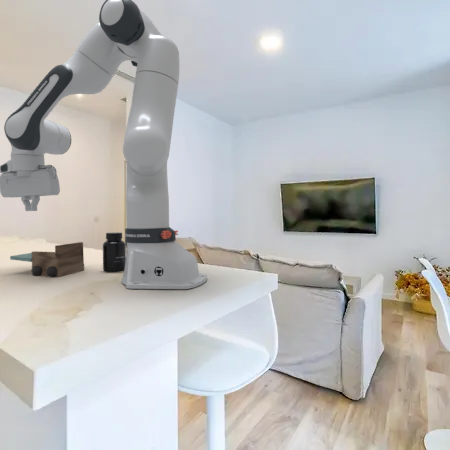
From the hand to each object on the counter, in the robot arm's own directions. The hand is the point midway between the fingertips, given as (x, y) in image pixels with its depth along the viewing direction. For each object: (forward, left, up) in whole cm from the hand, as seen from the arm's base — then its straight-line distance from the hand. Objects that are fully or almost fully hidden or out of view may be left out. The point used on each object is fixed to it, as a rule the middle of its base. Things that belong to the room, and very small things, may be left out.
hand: (31, 211), depth 97 cm
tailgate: (-5, 0, -14) cm, 15 cm away
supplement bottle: (-25, -7, -19) cm, 32 cm away
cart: (-10, 0, -19) cm, 21 cm away
